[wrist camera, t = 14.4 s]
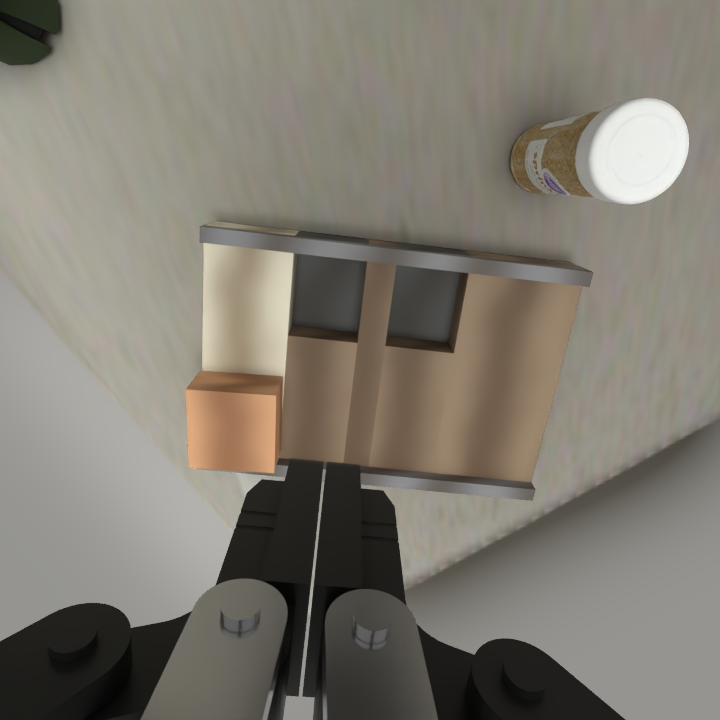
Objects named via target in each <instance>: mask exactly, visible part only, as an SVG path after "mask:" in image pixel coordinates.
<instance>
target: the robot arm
mask: <svg viewBox="0 0 720 720" xmlns="http://www.w3.org/2000/svg"><path fill="white" fill-rule="evenodd" d="M323 464H324V461H315V460H305V459H294V458H290V460H289V465H288V469H287V473H286V478H285V481H274V480H263V479H262V480H261V481H260V482H259V483H257V484H256V485H255V486H254V487H253V488H252V489H251V490H250V491H249V492H248V493H247V494H246V497H245V500H244V503H243V506H242V509H241V514H240V515H239V518H238V521H237V524H236V528H235V530H234V533H233V536H232V539H231V542H230V545H229V547H228V551H227V553H226V556H225V559H224V562H223V565H222V568H221V571H220V574H219V577H218V580H217V583H216V585H215V586H214V587H212V588H211V589H209V590H208V591H206V592H205V593H204V594H203V595H202V596H201V597H200V598H199V600H198V601H197V602H196V604H195V606H194V608H193V610H192V611H191V612H189V613H187V614H185V615H183V616H181V617H178V618H176V619H173V620H169V621H166V622H161V623H156V624H150V625H145V626H140V627H134V628H130V623H129V621H128V619H127V617H126V616H125V614H124V613H122V612H121V611H120V610H119V609H117V608H115V607H113V606H110V605H106V604H100V603H85V604H78V605H74V606H70V607H67V608H64V609H61V610H58V611H57V612H54V613H52V614H50V615H48V616H46V617H45V618H43V619H41V620H39V621H37V622H35V623H33V624H32V625H30V626H28V627H26V628H24V629H23V630H21V631H19V632H17V633H15V634H13V635H11V636H10V637H8V638H6V639H4V640H2V641H1V642H0V720H283V715H284V707H285V699H286V695H287V696H299V686H300V677H301V667H302V659H303V649H304V640H305V632H306V623H307V614H308V604H309V595H310V586H311V577H312V568H313V559H314V550H315V540H316V531H317V522H318V512H319V502H320V493H321V483H322V474H323ZM303 696H305V697H315V701H314V715H313V720H625V719H624V718H622V716H620V715H619V714H618V713H617V712H616V711H614V710H613V709H612V708H611V707H610V706H608V705H607V704H606V703H605V702H604V701H602V700H601V699H600V698H599V697H598V696H596V695H595V694H594V693H593V692H592V691H590V690H589V689H588V688H587V687H586V686H585V685H583V684H582V683H581V682H580V681H579V680H577V679H576V678H575V677H574V676H573V675H571V674H570V673H569V672H568V671H567V670H566V669H564V668H563V667H562V666H560V664H558V663H557V662H556V661H555V660H554V659H552V658H551V657H550V656H549V655H547V654H546V653H545V652H543V651H542V650H540V649H538V648H537V647H535V646H532V645H530V644H528V643H526V642H522V641H519V640H514V639H495V640H492V641H489V642H487V643H485V644H484V645H482V646H481V647H480V648H479V649H478V650H477V652H476V654H475V655H473V654H471V653H468V652H465V651H462V650H460V649H457V648H454V647H452V646H449V645H446V644H444V643H442V642H440V641H438V640H436V639H435V638H433V637H431V636H430V635H429V634H427V633H426V632H425V631H423V630H422V629H421V628H420V627H419V626H418V625H417V623H416V620H415V618H414V616H413V614H412V612H411V611H410V610H409V609H408V607H407V606H406V601H405V593H404V584H403V576H402V567H401V559H400V550H399V543H398V533H397V528H396V515H395V507H394V505H393V504H392V502H391V501H390V500H389V498H388V497H387V496H386V494H385V493H384V491H381V490H371V489H361V473H360V465H358V464H348V463H337V462H327V465H326V474H325V483H324V493H323V502H322V511H321V521H320V530H319V540H318V549H317V559H316V569H315V579H314V588H313V598H312V608H311V618H310V628H309V639H308V648H307V657H306V667H305V678H304V687H303Z"/></svg>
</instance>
